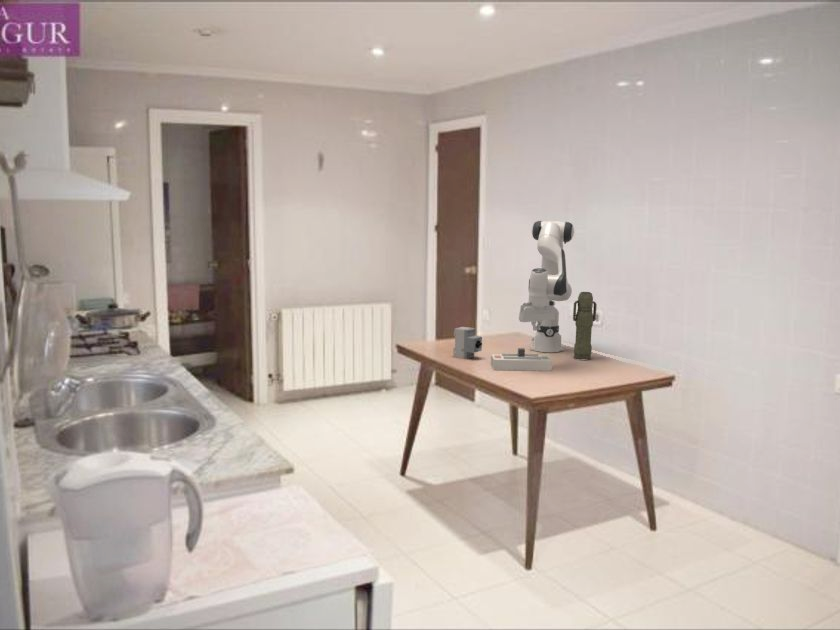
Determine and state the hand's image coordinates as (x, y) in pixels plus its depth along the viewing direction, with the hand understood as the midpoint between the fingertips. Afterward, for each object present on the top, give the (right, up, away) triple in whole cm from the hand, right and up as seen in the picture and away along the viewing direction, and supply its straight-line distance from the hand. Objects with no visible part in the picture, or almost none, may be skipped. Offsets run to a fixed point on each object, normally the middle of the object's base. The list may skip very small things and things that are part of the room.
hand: (536, 330), depth 352 cm
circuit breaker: (-31, -15, +24) cm, 42 cm away
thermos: (+29, -16, +27) cm, 42 cm away
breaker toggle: (-7, -13, +2) cm, 15 cm away
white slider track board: (-7, -18, +3) cm, 20 cm away
